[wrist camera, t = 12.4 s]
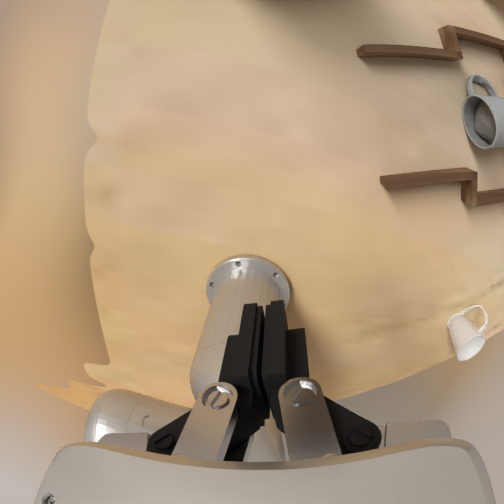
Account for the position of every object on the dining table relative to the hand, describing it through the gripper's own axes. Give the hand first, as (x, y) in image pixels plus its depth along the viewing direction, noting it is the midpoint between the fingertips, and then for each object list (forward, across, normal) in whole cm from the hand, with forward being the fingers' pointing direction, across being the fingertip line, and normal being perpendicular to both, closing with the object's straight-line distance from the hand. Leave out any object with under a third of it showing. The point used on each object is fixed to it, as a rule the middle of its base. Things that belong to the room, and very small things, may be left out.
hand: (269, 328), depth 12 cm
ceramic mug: (+25, -32, -10) cm, 42 cm away
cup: (+26, -34, +28) cm, 51 cm away
